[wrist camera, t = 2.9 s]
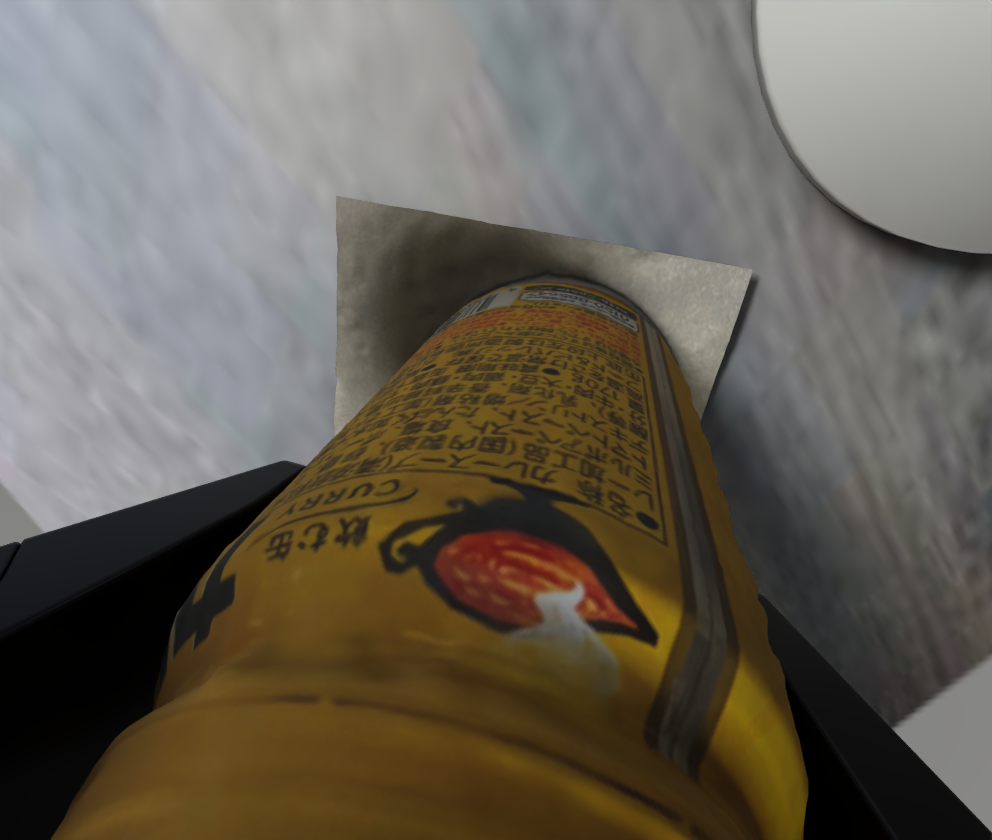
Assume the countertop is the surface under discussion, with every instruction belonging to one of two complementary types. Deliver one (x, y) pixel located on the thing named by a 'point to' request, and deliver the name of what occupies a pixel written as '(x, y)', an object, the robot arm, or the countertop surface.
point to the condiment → (481, 576)
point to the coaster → (886, 109)
